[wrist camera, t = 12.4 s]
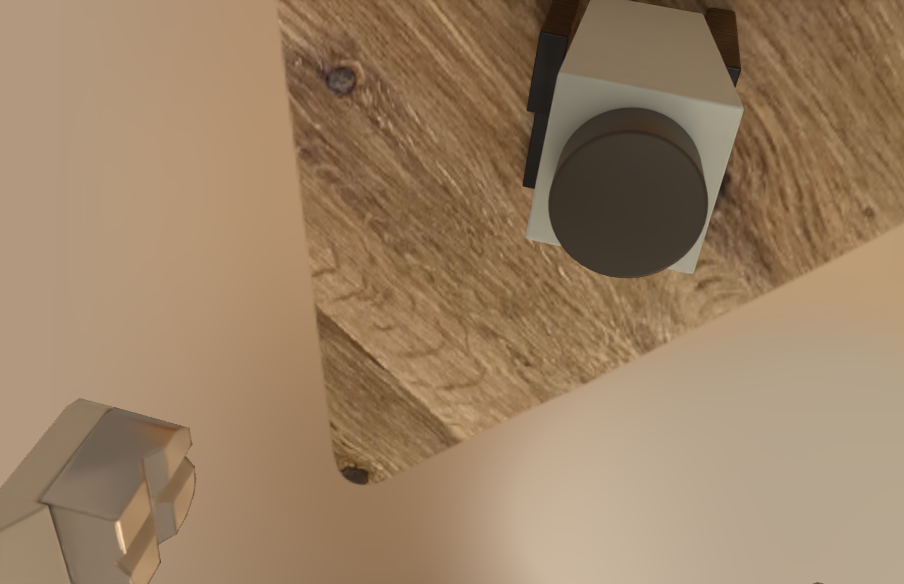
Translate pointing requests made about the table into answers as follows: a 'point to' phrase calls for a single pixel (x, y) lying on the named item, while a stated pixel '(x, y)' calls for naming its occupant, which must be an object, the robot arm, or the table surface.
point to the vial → (635, 141)
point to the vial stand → (554, 50)
